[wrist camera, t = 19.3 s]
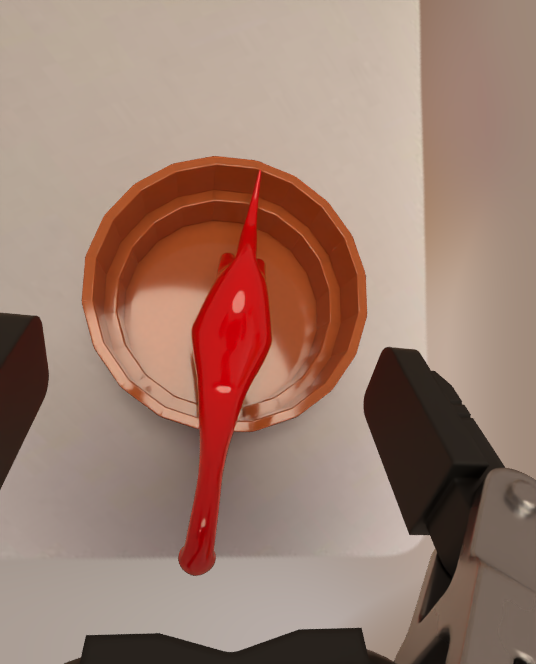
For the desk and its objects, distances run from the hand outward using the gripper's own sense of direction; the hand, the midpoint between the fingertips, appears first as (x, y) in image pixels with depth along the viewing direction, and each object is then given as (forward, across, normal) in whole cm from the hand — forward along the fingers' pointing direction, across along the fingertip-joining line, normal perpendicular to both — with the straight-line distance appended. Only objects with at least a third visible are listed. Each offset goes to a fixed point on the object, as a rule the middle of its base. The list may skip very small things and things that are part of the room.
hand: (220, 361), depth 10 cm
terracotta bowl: (+15, +1, -8) cm, 17 cm away
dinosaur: (+14, +2, -6) cm, 15 cm away
